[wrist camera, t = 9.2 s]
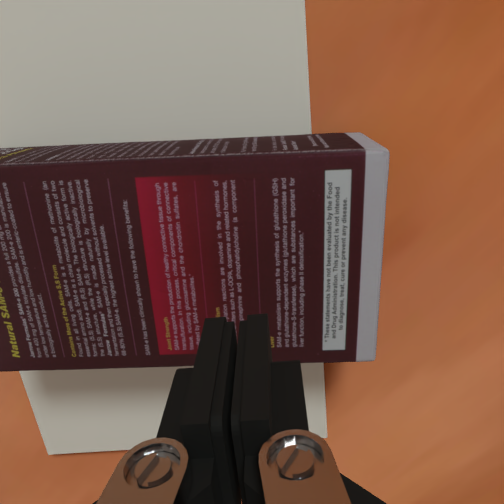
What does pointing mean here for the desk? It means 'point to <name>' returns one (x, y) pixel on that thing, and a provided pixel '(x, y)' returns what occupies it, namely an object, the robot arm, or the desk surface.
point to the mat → (143, 130)
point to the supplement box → (190, 248)
